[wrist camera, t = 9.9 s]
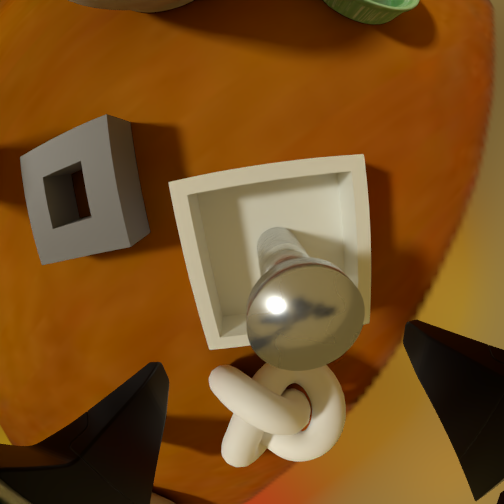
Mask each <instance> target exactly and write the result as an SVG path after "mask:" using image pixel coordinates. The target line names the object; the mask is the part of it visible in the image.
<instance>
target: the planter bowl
mask: <svg viewBox="0 0 504 504" xmlns="http://www.w3.org/2000/svg"><path fill="white" fill-rule="evenodd" d="M69 1H71V2H74V3H77V4H80V5H84V6H89V7H94V8H100V9H110V10H133V11H137V12H148V13H149V12H160V11H165V10H170V9H173V8H177V7H180V6H183V5H185V4H187V3H190V2H192V1H194V0H69Z"/></svg>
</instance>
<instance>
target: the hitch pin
mask: <svg viewBox="0 0 504 504" xmlns="http://www.w3.org/2000/svg"><path fill="white" fill-rule="evenodd" d="M257 254H258V261H259V268H260V275H261V278H260V279H259V280H258V281H257V282H256V284H255V285H254V287H253V288H252V290H251V292H250V295H249V298H248V301H247V307H246V329H247V336H248V340H249V343H250V345H251V347H252V348H253V350H254V351H255V353H256V354H257V355H258V356H259V357H260V358H261V359H262V360H264V361H265V362H267V363H268V364H270V365H272V366H274V367H277V368H280V369H284V370H290V371H305V370H311V369H315V368H319V367H322V366H324V365H327V364H329V363H331V362H332V361H334V360H336V359H337V358H339V357H340V356H341V355H343V354H344V353H345V352H346V351H347V350H348V349H349V348H350V347H351V346H352V345H353V343H354V342H355V340H356V339H357V337H358V335H359V334H360V331H361V329H362V326H363V322H364V316H365V306H364V301H363V298H362V295H361V293H360V291H359V290H358V288H357V287H356V286H355V284H354V283H353V282H352V281H351V280H350V279H349V277H348V276H347V275H346V274H345V273H344V272H343V271H342V270H341V269H340V268H339V267H337V266H336V265H334V264H333V263H331V262H329V261H326V260H323V259H320V258H313V257H310V256H309V255H308V254H307V252H306V251H305V249H304V248H303V247H302V245H301V244H300V242H299V241H298V240H297V238H296V237H295V235H294V234H293V233H292V232H291V231H290V230H288V229H286V228H283V227H273V228H270V229H268V230H266V231H265V232H263V233H262V234H261V236H260V237H259V239H258V242H257Z"/></svg>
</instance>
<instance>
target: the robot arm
mask: <svg viewBox="0 0 504 504" xmlns="http://www.w3.org/2000/svg"><path fill="white" fill-rule="evenodd" d="M403 344H404V347H405V349H406V352H407V354H408V356H409V358H410V361H411V363H412V365H413V368H414V370H415V372H416V375H417V377H418V379H419V380H420V382H421V384H422V386H423V388H424V390H425V392H426V393H427V395H428V397H429V399H430V401H431V403H432V404H433V407H434V409H435V410H436V413H437V414H438V416H439V418H440V420H441V422H442V424H443V426H444V429H445V431H446V433H447V434H448V437H449V439H450V441H451V443H452V445H453V448H454V450H455V452H456V454H457V457H458V459H459V461H460V464H461V466H462V469H463V471H464V473H465V476H466V478H467V481H468V484H469V486H470V488H471V491H472V494H473V497H474V499H475V501H477V500H479V499H480V498H482V497H483V496H484V495H486V494H487V493H488V492H490V491H491V490H492V489H494V488H495V487H496V486H498V485H499V484H500V483H501V482H503V481H504V350H502V349H499V348H496V347H493V346H490V345H489V346H488V345H487V344H484V343H482V342H479V341H476V340H473V339H470V338H467V337H464V336H461V335H458V334H455V333H453V332H450V331H447V330H444V329H441V328H439V327H436V326H433V325H430V324H427V323H424V322H422V321H419V320H412V321H409V322H407V323H406V326H405V332H404V338H403ZM168 391H169V379H168V376H167V374H166V372H165V370H164V367H163V365H162V364H161V363H160V362H150V363H148V364H147V365H146V366H145V367H143V368H142V369H141V370H140V371H138V372H137V373H136V374H135V375H133V376H132V377H131V378H130V379H128V380H127V381H126V382H124V383H123V384H122V385H121V386H119V387H118V388H117V389H115V390H114V391H113V392H112V393H110V394H109V395H108V396H106V397H105V398H104V399H103V400H101V401H100V402H99V403H97V404H96V405H95V406H93V407H92V408H91V409H90V410H88V412H86V413H84V414H83V415H82V416H80V417H79V418H78V419H76V420H75V421H73V422H72V423H71V424H69V425H67V426H66V427H64V428H63V429H61V430H60V431H58V432H56V433H55V434H53V435H51V436H50V437H48V438H46V439H45V440H43V441H41V442H39V443H37V444H35V445H32V446H15V445H6V444H0V504H150V501H151V495H152V488H153V483H154V477H155V471H156V466H157V460H158V455H159V450H160V445H161V440H162V435H163V430H164V425H165V420H166V413H167V401H168ZM497 504H504V491H503V492H501V493H500V496H499V499H498V502H497Z"/></svg>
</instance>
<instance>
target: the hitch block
mask: <svg viewBox="0 0 504 504" xmlns="http://www.w3.org/2000/svg"><path fill="white" fill-rule="evenodd" d="M20 163H21V172H22V180H23V186H24V193H25V198H26V204H27V209H28V214H29V218H30V223H31V227H32V231H33V235H34V239H35V243H36V247H37V250H38V254H39V257H40V260H41V263H42V265H45V264H50V263H54V262H59V261H64V260H68V259H73V258H78V257H83V256H87V255H92V254H97V253H102V252H107V251H112V250H118V249H123V248H128V247H131V246H133V245H134V244H135V243H137V242H138V241H139V240H141V239H142V238H144V237H145V236H146V235H148V234H149V233H150V229H149V224H148V220H147V215H146V211H145V206H144V201H143V196H142V191H141V186H140V181H139V175H138V170H137V164H136V158H135V151H134V145H133V138H132V131H131V123H130V122H129V121H126V120H123V119H120V118H117V117H113V116H110V115H107V114H106V115H104V116H101V117H99V118H96V119H94V120H91V121H89V122H87V123H85V124H82V125H80V126H78V127H76V128H73V129H71V130H69V131H67V132H65V133H63V134H61V135H59V136H57V137H55V138H53V139H51V140H49V141H47V142H46V143H44V144H42V145H40V146H38V147H36V148H35V149H33V150H31V151H29V152H28V153H26V154H24V155H23V156H21V157H20ZM80 170H82V171H83V177H84V183H85V188H86V193H87V198H88V203H89V208H90V213H91V215H90V216H87V217H83V218H80V217H79V212H78V208H77V203H76V198H75V193H74V187H73V182H72V176H71V174H72V173H75V172H77V171H80Z"/></svg>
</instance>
